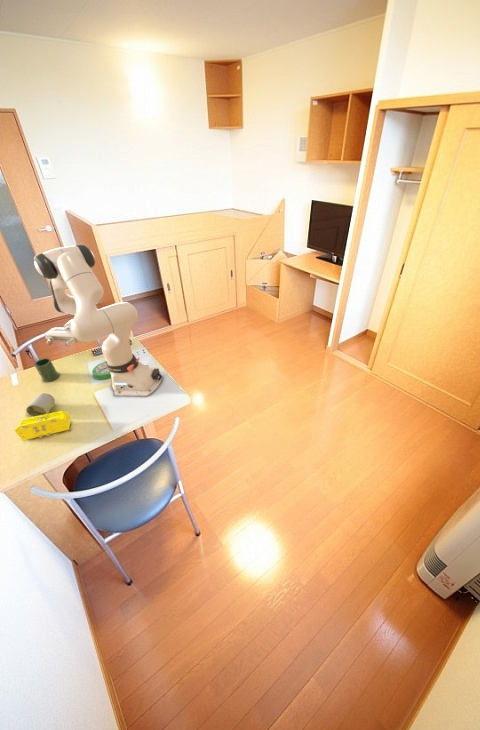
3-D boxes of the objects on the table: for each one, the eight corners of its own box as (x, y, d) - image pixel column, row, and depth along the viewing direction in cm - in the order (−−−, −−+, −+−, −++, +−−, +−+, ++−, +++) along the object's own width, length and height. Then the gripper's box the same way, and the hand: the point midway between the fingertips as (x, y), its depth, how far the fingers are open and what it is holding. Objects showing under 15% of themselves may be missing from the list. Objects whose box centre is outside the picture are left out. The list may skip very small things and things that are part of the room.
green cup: (61, 374, 144) (53, 359, 138) (51, 382, 139) (42, 367, 133) (50, 372, 145) (42, 357, 139) (40, 380, 140) (30, 365, 135)
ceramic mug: (59, 403, 128) (51, 390, 124) (50, 417, 122) (41, 404, 117) (33, 405, 128) (24, 392, 123) (23, 420, 121) (13, 407, 116)
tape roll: (94, 368, 148) (92, 364, 146) (117, 362, 152) (116, 358, 150) (94, 382, 140) (92, 377, 138) (118, 375, 143) (117, 371, 142)
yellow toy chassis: (23, 442, 112) (11, 428, 107) (27, 431, 116) (16, 417, 111) (70, 431, 116) (61, 417, 111) (72, 421, 121) (64, 407, 116)
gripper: (52, 323, 155) (34, 337, 144) (90, 325, 154) (74, 339, 143) (57, 333, 159) (40, 348, 148) (94, 335, 158) (79, 350, 147)
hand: (57, 344), depth 145 cm, fingers open, 8 cm apart
